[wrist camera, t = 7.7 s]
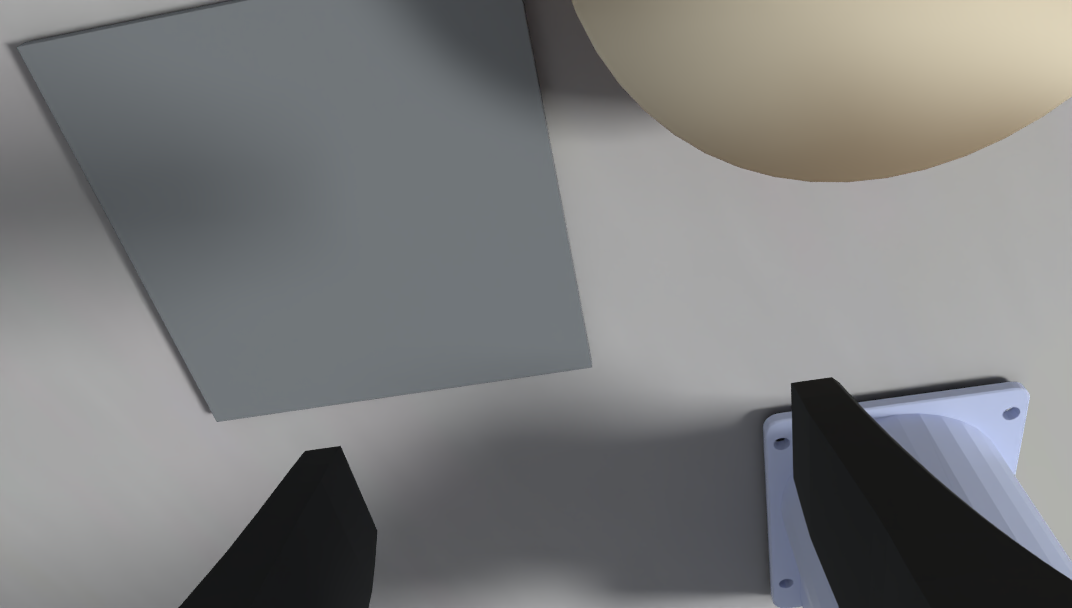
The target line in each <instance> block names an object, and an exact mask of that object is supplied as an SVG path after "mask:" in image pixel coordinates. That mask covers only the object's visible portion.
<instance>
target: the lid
mask: <svg viewBox="0 0 1072 608" xmlns="http://www.w3.org/2000/svg"><path fill="white" fill-rule="evenodd" d="M572 3H573V6H574V8H575V11H576V14H577V16H578V18H579V20H580V22H581V24H582V25H583V27H584V29H585V31H586V33H587V35H588V37H589V39H590V41H591V43H592V45H593V47H594V49H595V50H596V52H597V53H598V55H599V56H600V58H601V59H602V60H603V62H604V63H605V65H606V66H607V68H608V69H609V70H610V72H611V73H612V75H613V76H614V77H615V79H616V80H617V82H618V83H619V84H620V85H621V86H622V87H623V89H624V90H625V91H626V92H627V93H628V94H629V95H630V96H631V97H632V98H633V99H634V100H635V101H636V102H637V103H638V104H639V106H640V107H641V108H642V109H643V110H644V111H645V112H646V113H648V114H649V115H650V116H651V117H653V118H654V119H655V120H656V121H658V122H659V123H660V124H661V125H663V126H664V127H665V128H666V129H668V130H669V131H670V132H671V133H673V134H674V135H675V136H677V137H679V138H681V139H682V140H684V141H686V142H687V143H689V144H691V145H692V146H694V147H696V148H697V149H699V150H701V151H702V152H704V153H706V154H708V155H711V156H713V157H716V158H718V159H720V160H723V161H725V162H727V163H730V164H732V165H735V166H737V167H740V168H743V169H747V170H751V171H754V172H758V173H762V174H766V175H769V176H773V177H780V178H787V179H794V180H802V181H809V182H853V181H863V180H872V179H882V178H889V177H893V176H898V175H902V174H907V173H911V172H916V171H920V170H925V169H928V168H931V167H934V166H937V165H940V164H943V163H946V162H949V161H952V160H955V159H958V158H961V157H964V156H967V155H969V154H971V153H973V152H976V151H978V150H980V149H982V148H984V147H987V146H989V145H991V144H993V143H996V142H998V141H1000V140H1002V139H1004V138H1006V137H1008V136H1010V135H1012V134H1013V133H1015V132H1017V131H1019V130H1020V129H1022V128H1024V127H1026V126H1027V125H1029V124H1031V123H1033V122H1034V121H1036V120H1038V119H1040V118H1041V117H1043V116H1045V115H1046V114H1047V113H1049V112H1050V111H1052V110H1053V109H1055V108H1056V107H1057V106H1059V105H1060V104H1062V103H1063V102H1065V101H1066V100H1067V99H1069V98H1070V97H1072V0H572Z"/></svg>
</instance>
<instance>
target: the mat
mask: <svg viewBox="0 0 1072 608" xmlns="http://www.w3.org/2000/svg"><path fill="white" fill-rule="evenodd" d="M17 49H18V51H19V53H20V54H21V56H22V58H23V60H24V62H25V64H26V66H27V68H28V69H29V71H30V73H31V75H32V77H33V79H34V81H35V83H36V84H37V86H38V88H39V90H40V92H41V94H42V96H43V98H44V99H45V101H46V103H47V105H48V107H49V109H50V111H51V112H52V114H53V116H54V118H55V120H56V122H57V124H58V126H59V127H60V129H61V131H62V133H63V135H64V137H65V139H66V141H67V142H68V144H69V146H70V148H71V150H72V152H73V154H74V156H75V157H76V159H77V161H78V163H79V165H80V167H81V169H82V171H83V172H84V174H85V176H86V178H87V180H88V182H89V184H90V185H91V187H92V189H93V191H94V193H95V195H96V197H97V199H98V200H99V202H100V204H101V206H102V208H103V210H104V212H105V214H106V215H107V217H108V219H109V221H110V223H111V225H112V227H113V229H114V230H115V232H116V234H117V236H118V238H119V240H120V242H121V244H122V245H123V247H124V249H125V251H126V253H127V255H128V257H129V258H130V260H131V262H132V264H133V266H134V268H135V270H136V272H137V273H138V275H139V277H140V279H141V281H142V283H143V285H144V287H145V288H146V290H147V292H148V294H149V296H150V298H151V300H152V302H153V303H154V305H155V307H156V309H157V311H158V313H159V315H160V317H161V318H162V320H163V322H164V324H165V326H166V328H167V330H168V331H169V333H170V335H171V337H172V339H173V341H174V343H175V345H176V346H177V348H178V350H179V352H180V354H181V356H182V358H183V360H184V361H185V363H186V365H187V367H188V369H189V371H190V373H191V375H192V376H193V378H194V380H195V382H196V384H197V386H198V388H199V390H200V391H201V393H202V395H203V397H204V399H205V401H206V403H207V405H208V406H209V408H210V410H211V412H212V414H213V416H214V418H215V419H216V421H217V422H220V421H227V420H234V419H241V418H248V417H254V416H261V415H268V414H275V413H282V412H289V411H296V410H303V409H309V408H316V407H323V406H330V405H337V404H344V403H351V402H358V401H364V400H371V399H378V398H385V397H392V396H399V395H406V394H413V393H419V392H426V391H433V390H440V389H447V388H454V387H461V386H468V385H474V384H481V383H488V382H495V381H502V380H509V379H516V378H523V377H529V376H536V375H543V374H550V373H557V372H564V371H571V370H578V369H584V368H591V367H592V361H591V355H590V350H589V344H588V339H587V334H586V329H585V323H584V318H583V313H582V308H581V302H580V297H579V292H578V286H577V281H576V276H575V271H574V265H573V260H572V255H571V250H570V244H569V239H568V234H567V229H566V223H565V218H564V213H563V207H562V202H561V197H560V192H559V186H558V181H557V176H556V171H555V165H554V160H553V155H552V150H551V144H550V139H549V134H548V129H547V123H546V118H545V113H544V107H543V102H542V97H541V92H540V86H539V81H538V76H537V71H536V65H535V60H534V55H533V50H532V44H531V39H530V34H529V28H528V23H527V18H526V13H525V7H524V2H523V0H232V1H227V2H222V3H217V4H212V5H207V6H202V7H197V8H192V9H187V10H182V11H177V12H173V13H168V14H163V15H158V16H153V17H148V18H143V19H138V20H133V21H128V22H123V23H118V24H113V25H108V26H103V27H98V28H94V29H89V30H84V31H79V32H74V33H69V34H64V35H59V36H54V37H49V38H44V39H39V40H34V41H29V42H25V43H23V44H21V45H20V46H18V47H17Z"/></svg>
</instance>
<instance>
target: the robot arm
mask: <svg viewBox="0 0 1072 608" xmlns="http://www.w3.org/2000/svg"><path fill="white" fill-rule="evenodd" d="M1029 399H1030V396H1029V393H1028V391H1027V390H1026V389H1025V387H1024V386H1023V385H1022V384H1021V383H1018V382H1004V383H997V384H990V385H982V386H975V387H968V388H960V389H953V390H946V391H938V392H931V393H924V394H916V395H909V396H902V397H894V398H887V399H880V400H872V401H865V402H857V401H856V400H855V399H854V398H853V397H852V396H851V395H850V394H849V393H848V392H847V391H846V390H845V388H844V387H843V386H842V385H841V384H840V383H839V382H838V381H836V380H835V379H833V378H832V377H831V378H824V379H817V380H809V381H802V382H795V383H791V400H792V412H784V413H778V414H774V415H772V416H770V417H768V418H767V419H766V421H765V422H764V425H763V438H764V459H765V480H766V501H767V522H768V542H769V563H770V584H771V596H772V600H773V603H774V604H775V605H776V606H777V607H780V608H792V607H801V606H803V608H1072V561H1071V560H1070V558H1069V557H1068V555H1067V554H1066V552H1065V551H1064V549H1063V548H1062V546H1061V545H1060V543H1059V542H1058V540H1057V538H1056V537H1055V535H1054V534H1053V532H1052V531H1051V529H1050V528H1049V526H1048V525H1047V523H1046V522H1045V520H1044V519H1043V517H1042V516H1041V514H1040V513H1039V511H1038V510H1037V508H1036V507H1035V505H1034V504H1033V502H1032V501H1031V499H1030V498H1029V496H1028V495H1027V493H1026V492H1025V490H1024V489H1023V487H1022V486H1021V484H1020V483H1019V481H1018V480H1017V478H1016V477H1015V474H1016V469H1017V464H1018V458H1019V453H1020V448H1021V442H1022V437H1023V431H1024V426H1025V421H1026V415H1027V410H1028V405H1029ZM1011 407H1012V408H1011ZM1008 408H1011V409H1010V410H1008V411H1005V410H1007V409H1008ZM1004 411H1005V412H1004ZM780 438H785V439H784V440H782V441H776V440H777V439H780ZM376 542H377V529H376V527H375V524H374V522H373V520H372V517H371V515H370V513H369V511H368V508H367V506H366V504H365V501H364V499H363V497H362V494H361V492H360V490H359V487H358V485H357V483H356V480H355V478H354V476H353V474H352V471H351V469H350V467H349V464H348V462H347V460H346V457H345V455H344V453H343V450H342V448H341V446H338V447H330V448H323V449H316V450H309V451H305V452H304V453H303V454H302V455H301V457H300V458H299V459H298V460H297V462H296V463H295V464H294V466H293V467H292V468H291V469H290V471H289V472H288V473H287V475H286V476H285V477H284V479H283V480H282V481H281V483H280V484H279V485H278V486H277V488H276V489H275V490H274V492H273V493H272V494H271V496H270V497H269V498H268V500H267V501H266V502H265V504H264V505H263V506H262V507H261V509H260V510H259V511H258V513H257V514H256V515H255V517H254V518H253V519H252V520H251V522H250V523H249V524H248V525H247V527H246V528H245V529H244V530H243V532H242V533H241V534H240V536H239V537H238V538H237V539H236V541H235V542H234V543H233V544H232V546H231V547H230V548H229V549H228V551H227V552H226V553H225V554H224V556H223V557H222V558H221V559H220V560H219V561H218V563H217V564H216V565H215V566H214V567H213V568H212V570H211V571H210V572H209V573H208V574H207V575H206V577H205V578H204V579H203V580H202V581H201V582H200V584H199V585H198V586H197V587H196V588H195V589H194V591H193V592H192V593H191V594H190V595H189V596H188V598H187V599H186V600H185V601H184V602H183V603H182V605H181V606H180V607H179V608H368V607H369V603H370V598H371V593H372V586H373V576H374V567H375V555H376Z"/></svg>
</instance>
